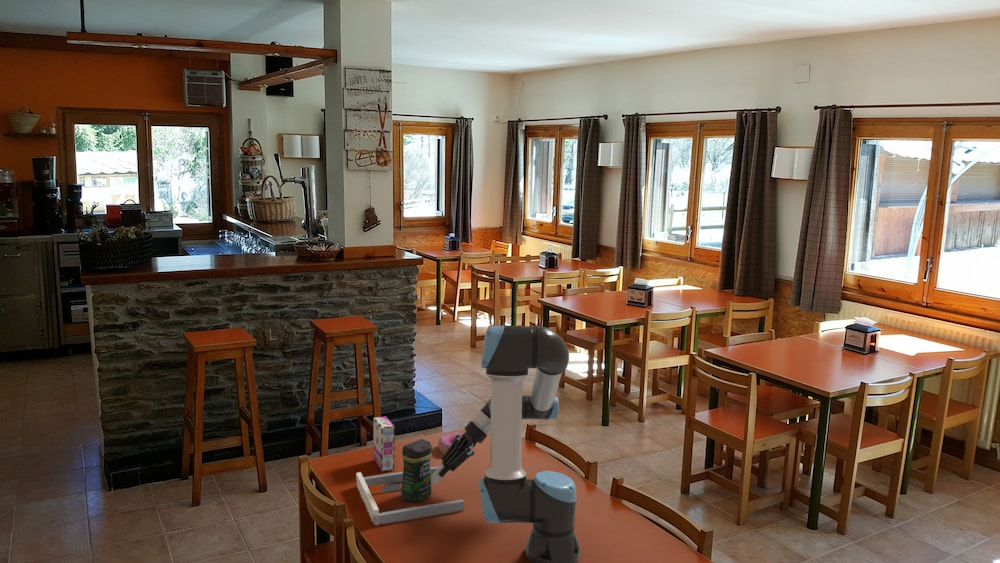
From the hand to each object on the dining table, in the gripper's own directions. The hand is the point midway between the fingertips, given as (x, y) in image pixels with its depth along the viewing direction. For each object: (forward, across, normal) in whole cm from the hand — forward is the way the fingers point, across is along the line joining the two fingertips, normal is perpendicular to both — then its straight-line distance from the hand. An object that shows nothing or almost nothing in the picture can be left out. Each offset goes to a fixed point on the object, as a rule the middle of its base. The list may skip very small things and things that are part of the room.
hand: (432, 481), depth 238 cm
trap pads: (+12, -2, +8) cm, 15 cm away
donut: (-10, +30, -16) cm, 35 cm away
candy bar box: (+10, +25, +5) cm, 28 cm away
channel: (+8, -2, +4) cm, 9 cm away
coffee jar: (+7, -1, +1) cm, 7 cm away
